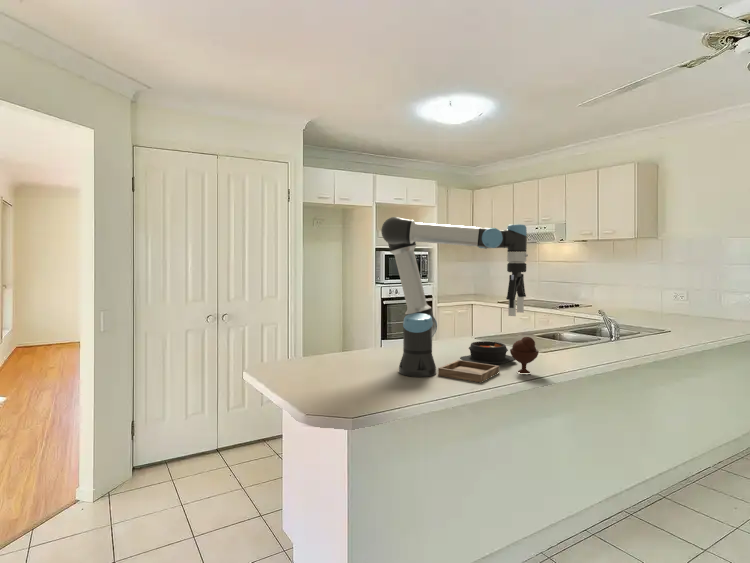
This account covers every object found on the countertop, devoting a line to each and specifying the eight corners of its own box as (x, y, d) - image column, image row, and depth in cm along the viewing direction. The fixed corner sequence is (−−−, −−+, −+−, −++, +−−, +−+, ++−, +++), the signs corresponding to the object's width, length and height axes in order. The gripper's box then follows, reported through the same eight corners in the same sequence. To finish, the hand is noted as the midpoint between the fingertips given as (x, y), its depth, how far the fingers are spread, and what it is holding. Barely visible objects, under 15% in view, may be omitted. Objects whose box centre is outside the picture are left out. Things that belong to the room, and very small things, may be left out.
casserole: (502, 357, 222) (502, 339, 222) (524, 366, 204) (524, 346, 204) (453, 359, 216) (453, 341, 216) (471, 369, 198) (471, 349, 198)
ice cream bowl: (531, 369, 197) (532, 334, 196) (542, 376, 186) (542, 338, 185) (506, 370, 197) (507, 334, 196) (515, 376, 186) (516, 339, 185)
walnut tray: (480, 382, 177) (480, 374, 177) (438, 375, 187) (438, 368, 187) (499, 373, 191) (499, 365, 191) (458, 366, 202) (458, 359, 202)
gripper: (518, 263, 181) (518, 318, 182) (532, 262, 202) (532, 311, 204) (499, 263, 185) (498, 317, 186) (515, 262, 206) (514, 310, 207)
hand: (516, 314), depth 195 cm, fingers open, 13 cm apart
